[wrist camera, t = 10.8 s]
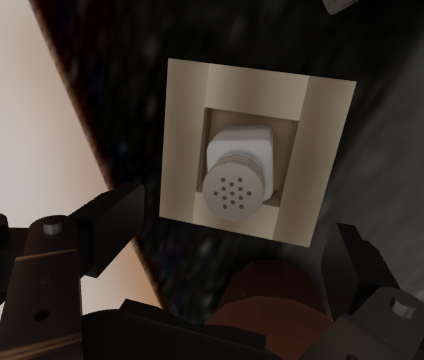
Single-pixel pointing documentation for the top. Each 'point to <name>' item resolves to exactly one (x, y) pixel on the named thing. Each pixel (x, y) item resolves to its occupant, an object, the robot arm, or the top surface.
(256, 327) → the muffin
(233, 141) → the pepper shaker
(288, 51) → the top surface
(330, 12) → the coffee box
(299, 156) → the birch holder
